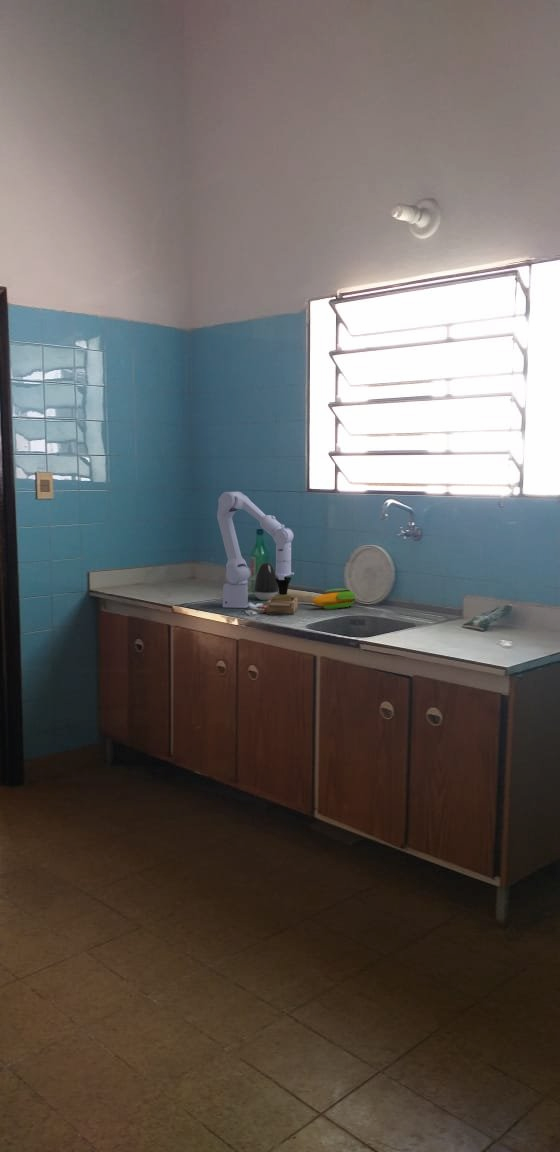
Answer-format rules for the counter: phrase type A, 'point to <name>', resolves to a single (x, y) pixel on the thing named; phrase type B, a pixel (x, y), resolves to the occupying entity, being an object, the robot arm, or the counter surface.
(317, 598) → the corn
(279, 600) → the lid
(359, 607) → the counter surface
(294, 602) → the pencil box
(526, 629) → the counter surface
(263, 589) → the dark grey egg shape
